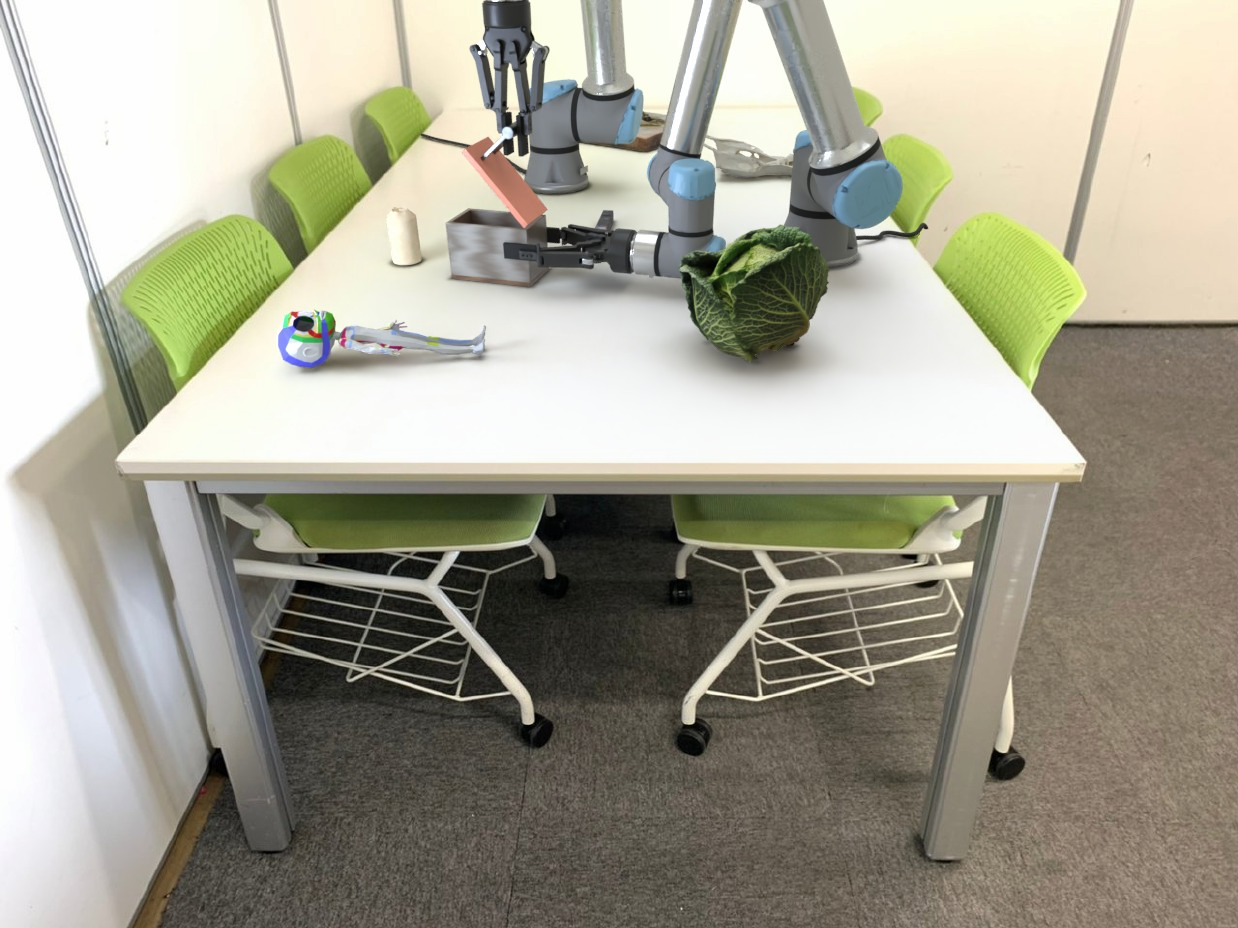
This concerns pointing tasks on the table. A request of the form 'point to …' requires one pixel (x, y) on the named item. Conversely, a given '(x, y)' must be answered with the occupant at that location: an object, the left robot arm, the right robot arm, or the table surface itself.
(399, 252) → the candle
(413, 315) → the table surface
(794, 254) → the vegetable
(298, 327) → the toy
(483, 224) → the chest
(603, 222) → the pillar
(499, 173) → the lid
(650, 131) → the plaque
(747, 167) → the anatomical model
